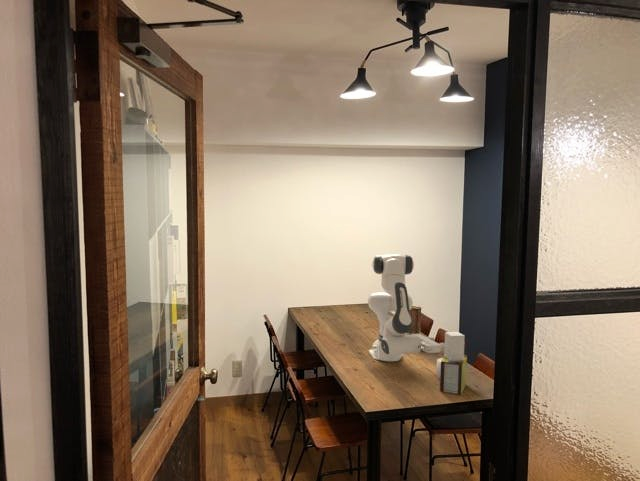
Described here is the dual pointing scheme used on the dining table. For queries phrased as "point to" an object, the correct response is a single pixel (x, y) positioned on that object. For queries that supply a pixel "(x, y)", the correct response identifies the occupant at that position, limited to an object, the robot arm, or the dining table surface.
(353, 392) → the dining table surface
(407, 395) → the dining table surface
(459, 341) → the supplement box
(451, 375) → the protein box
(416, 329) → the book
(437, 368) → the off-white mug
